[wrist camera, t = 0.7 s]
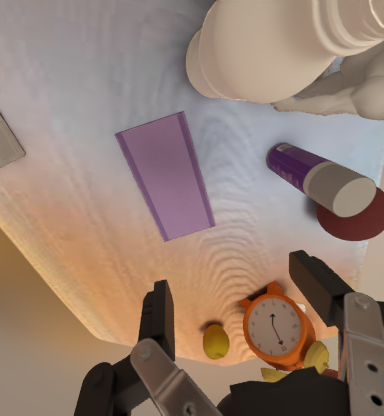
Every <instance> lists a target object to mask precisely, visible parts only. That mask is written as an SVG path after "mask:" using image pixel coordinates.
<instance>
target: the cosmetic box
mask: <svg viewBox="0 0 384 416" xmlns="http://www.w3.org/2000/svg"><path fill="white" fill-rule="evenodd" d="M24 155H25V153H24V151H23V150H22V148H21V147H20V145H19V143H18V142H17V140H16V139H15V137H14V136H13V134H12V132H11V131H10V129H9V128H8V126H7V124H6V123H5V121H4V120H3V118H2V117H1V115H0V168H1V167H3V166H5V165H7V164H9V163H11V162H13V161H14V160H16V159H18V158H20V157H22V156H24Z"/></svg>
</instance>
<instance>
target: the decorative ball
mask: <svg viewBox="0 0 384 416" xmlns="http://www.w3.org/2000/svg"><path fill="white" fill-rule="evenodd" d="M316 215H317V219H318V221H319V223H320V225H321V226H322V227H323V229H324V230H325V231H327V232H328V233H329V234H331V235H332V236H334V237H337V238H339V239H342V240H347V241H362V240H366V239H370V238H373V237H375V236H377V235H378V234H380V233H381V232H382V231H383V230H384V192H383V191H382V190H381V189H380V188H378V187H376V193H375V196H374V198H373V200H372V201H371V203H370V204H369V205H368V206H367V207H366V208H365V209H364V210H363V211H361V212H360V213H358V214H356V215H353V216H350V217H340V216H338V215H336V214H335V213H333V212H332V211H330V210H329V209H327V208H325V207H324V206H322V205H321V204H319V203H318V202H317V206H316Z"/></svg>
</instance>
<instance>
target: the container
mask: <svg viewBox="0 0 384 416" xmlns="http://www.w3.org/2000/svg"><path fill="white" fill-rule="evenodd" d="M266 163H267V166H268V168H269V169H271V170H272V171H273V172H275V173H276V174H278V175H279V176H280V177H282V178H283V179H285V180H286V181H287V182H289V183H290V184H292V185H293V186H294V187H296V188H297V189H299V190H300V191H301V192H303V193H304V194H306V195H307V196H309V197H310V198H312V199H313V200H315V201H316V202H318V203H319V204H321V205H322V206H324V207H325V208H327V209H329V210H330V211H332V212H333V213H335V214H336V215H338V216H340V217H350V216H353V215H356V214H358V213H360V212H361V211H363V210H364V209H365V208H366V207H367V206H368V205H369V204H370V203H371V201H372V200H373V198H374V196H375V193H376V184H375V182H374V181H373V180H372V179H370V178H368V177H366V176H363V175H361V174H359V173H357V172H354V171H352V170H350V169H348V168H346V167H343V166H341V165H339V164H337V163H335V162H332V161H330V160H327V159H325V158H322V157H320V156H318V155H315V154H313V153H310V152H308V151H305V150H303V149H300V148H298V147H295V146H293V145H290V144H288V143H279V144H276V145H275V146H273V147H272V148H271V149H270V151H269V152H268V154H267V157H266Z"/></svg>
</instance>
